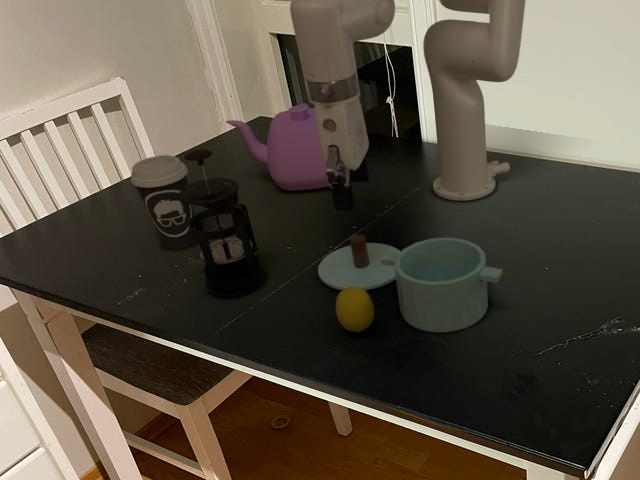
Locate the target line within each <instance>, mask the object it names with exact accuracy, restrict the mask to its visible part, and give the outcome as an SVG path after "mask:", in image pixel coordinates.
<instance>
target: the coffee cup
mask: <svg viewBox="0 0 640 480" xmlns="http://www.w3.org/2000/svg"><path fill="white" fill-rule="evenodd" d="M188 173H189V169H188V168H187V166H186V165H185V163H184V162H182V161H181V160H180V159H179V157H178V156H175V155H167V154H163V155H155V156H150V157H147V158H144V159H141V160H139V161H137V162H136V163H134V164H133V166H132V167H131V174H130V183H131V184H132V185H133V186H135V187H136V189H137V191H138V193H139V195H140V198H141V200H142V202H143V204H144V206H145V209H146V210H147V213H148V215H149V217H150V220H151V221H152V223H153V225H154V228H155V230H156V231H157V234H158V237H159V239H160V241H161V243H162V245H163V247H164V248H165V249H168V250H182V249H186V248H189V247H192V246H193V245H195V244H197V243H198V242H199V241H198V238H196V237H194V236H193V235H192V234H191V232H190V229H189V226H188V223H189V220H190V219H191V218H192V217H193V216H194V215H196V214H195V210H194V205H191V204H188V206H187V208H186V207H185V203H184V202H182V201H181V200H180V198H179V194H180V192H181V191H182V189H184V188H185V187H187V186H188V185H189V183H188V182H189V181H188V177H187V175H188ZM193 229H194V230H195V228H194V227H193Z"/></svg>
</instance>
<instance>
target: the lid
mask: <svg viewBox="0 0 640 480" xmlns="http://www.w3.org/2000/svg"><path fill="white" fill-rule="evenodd" d="M401 251H402V250H399V249H398V248H396V247H394V246H392V245H389V244H384V243H378V242H367V240H366V236H365V235H363V234H353V235H352V236H350V237H349V245H347V246H344V247H341V248H338V249H336V250H334V251H332V252H330V253H329V254H328V255H326V256H325V257H324V258H323V259H322V260H321V261H320V263H319V265H318V268H317V273H318V277H319V279H320V280H321V282H322V283H323V284H324V285H326V286H327V287H329V288H332V289H335V290H339V291H342V290H344V289H345V288H348V287H350V286H355V287H359V288H362V289H363V290H365V291H369V290H373V289H377V288H380V287H383V286H386V285H388V284H390V283H392V282H393V281H396V276H395V268H394V266H388V265H382V264H381V258H382V257H383V256H384V255H385V254H386V253H387V252H393V253H400V252H401Z"/></svg>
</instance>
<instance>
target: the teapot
mask: <svg viewBox="0 0 640 480" xmlns="http://www.w3.org/2000/svg"><path fill="white" fill-rule="evenodd" d="M225 123H226V124H228V125H230V126H232V127H235V128H236V129H237V130H238V131H239V132H240V133H241V135H242V137H243V138H244V140H245V142H246V145H247V148H248V149H249V152H250V154H251V155H252V156H253V159H255V160H256V161H257V162H259V163H260V164H262V165H264V166H266V167H267V168H268V172H269V175H270V177H271V178H272V179H273V181H274V182H275V183H276V185H277V186H278V187H279V188H280V189H282V190H285V191H304V190H313V189H314V190H315V189H321V188H327V187H330V186H329V182H328V176H327V174H326V167H325V164H324V160H323V156H322V152H321V146H320V141H319V135H318V128H317V121H316V113H315V107H309V105H308V104H307V103H300V104H298V105H297V104H296V105H293V106H291V107H289V109H288V110H284V111H283V110H282V111H280V112H278V113H276V114H275V115H274V116H273V118H272V120H271V122H270V126H269V130H268V135H267V142H266V144H264V143H261V142H260V141H259V140H258V139H257V138H256V136H255V134H254V132H253V130H252V128H251V127H250V126H249V125H248V124H247V123H246V122H245V121H242V120H236V119H235V120H234V119H232V120H231V119H230V120H225ZM337 166H345V164H337ZM338 175H341V177H342V178H343V179H344V172H338Z"/></svg>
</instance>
